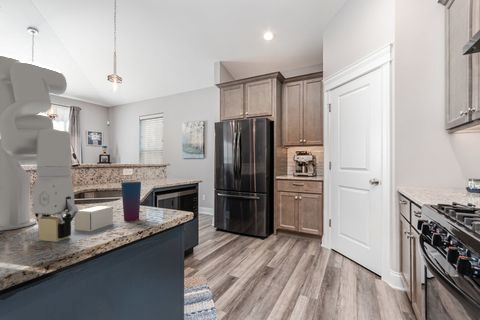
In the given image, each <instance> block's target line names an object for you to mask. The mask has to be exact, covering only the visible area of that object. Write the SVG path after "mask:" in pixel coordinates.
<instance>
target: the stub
mask: <svg viewBox="0 0 480 320" xmlns="http://www.w3.org/2000/svg"><path fill="white" fill-rule="evenodd" d="M65 216H66V215H65V214H63V217H65ZM38 223H39V240H43V241H53V242H57V241H60V240H63V239H66V238H69V237H71V235H70V236H67V237H64V238H61V239H60V238H58V224H60V221H59V219H58V216H57V214H56V215H51V216H48V217H43V218H39V222H38Z"/></svg>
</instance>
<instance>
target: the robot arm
mask: <svg viewBox="0 0 480 320" xmlns="http://www.w3.org/2000/svg"><path fill="white" fill-rule="evenodd" d="M67 85H68V83H67V79H66V77H65V75H64V74H63V73H62V72H61V71H60V70H58V69H53V68H52V67H48V66H44V65H42V64H37V63H34V62H32V61H27V60H24V59H21V58H17V57H13V56H10V55H5V54H0V232H1V231H9V230H14V229H15V230H17V229H22V228H26V227H30V226H33V225H35V224H36V223H38V224H37V225H38V235H37V236H39V218H43V217H48V216H52V215H57V216H58V219H59V221H60V224H58V238H60V239H61V238H64V237H67V236H70V235H71V227H72V222H74V216H75V214H76V213H77V212H78V210H79V208H78V207H77V205H76V204H75V191H74V185H73V179H72V151H71V149H72V148H71V145H72V140H71V139H72V138H71V134H70V132H69V131H67V130H65V129H58V128H54V123H53V120H52V118H51V117H50V116H49V115H48V114H46V112H48V111H49V110H50V109H51V108H52V104H53V103H52V101H51V100H52V99H51V97H50V94H53V95H63V94H64V93H65V92H66V90H67V87H68V86H67ZM29 165H30V166H32V165H33V166H36V178H35V181H34V183H33V191H32V202H31V177H30V173H29V172H27V171H26V170H25V169H24V168H23V167H22V166H29ZM31 207H32V209H31ZM31 211H32V212H33V213H34V215H35V217H36V218H37V219H36V218H31ZM63 215H64V216H65V217H63Z"/></svg>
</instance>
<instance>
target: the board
mask: <svg viewBox="0 0 480 320" xmlns="http://www.w3.org/2000/svg"><path fill="white" fill-rule="evenodd" d="M124 225H125V223H117V222H116V223H115V222H113V224H110V225H107V226H104V227H101V228H98V229H95V230H92V231H81V230H74V225H73V226H72V225H71V237H69V238H66V239H63V240H60V241H57V242H53V241H43V240H39V236H38V235H37V236H33V237H30V238H27V239H25V241H32V242H42V243H51V244H52V243H54V244H61V245H71V244H74V243H76V242H79V241H82V240H85V239H87V238H91V237H93V236H96V235H100V234H102V233H105V232H107V231H109V230H112V229H116V228H118V227H122V226H124Z"/></svg>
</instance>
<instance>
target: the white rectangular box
mask: <svg viewBox="0 0 480 320" xmlns="http://www.w3.org/2000/svg"><path fill="white" fill-rule="evenodd" d="M113 209H114V207H113V206H105V205H103V206H102V205H97V206H93V207H87V208H83V209H80V210H79V209H78V212H77V213H76V214H75V216H74V218H73V223H74V224H73V226H74V230H81V231H92V230H95V229H98V228H101V227H104V226H107V225H110V224H113V223H114V215H113V214H114V212H113V211H114V210H113Z"/></svg>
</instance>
